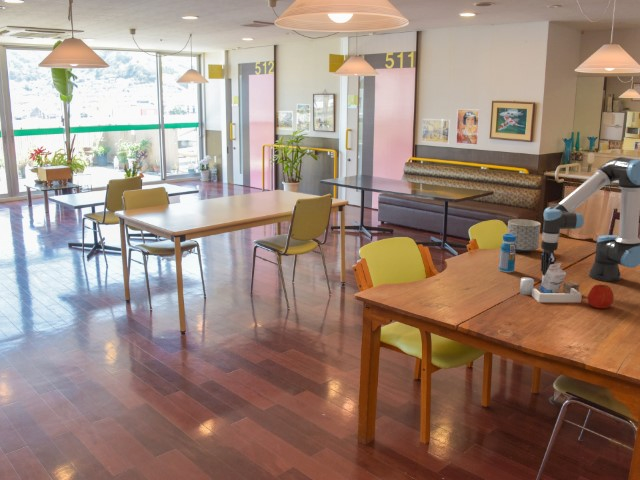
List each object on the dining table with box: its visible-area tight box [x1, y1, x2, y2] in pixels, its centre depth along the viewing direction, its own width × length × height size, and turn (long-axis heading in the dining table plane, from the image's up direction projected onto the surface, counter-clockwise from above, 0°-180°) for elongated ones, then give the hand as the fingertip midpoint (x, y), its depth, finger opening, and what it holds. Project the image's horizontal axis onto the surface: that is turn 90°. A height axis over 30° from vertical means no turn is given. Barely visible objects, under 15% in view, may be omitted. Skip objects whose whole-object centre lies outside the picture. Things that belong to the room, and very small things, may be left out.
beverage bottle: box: [498, 233, 517, 273], centre depth 331 cm, size 8×8×20 cm
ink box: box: [538, 262, 567, 293], centre depth 294 cm, size 8×5×15 cm, turn 119°
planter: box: [506, 218, 542, 254], centre depth 374 cm, size 19×19×18 cm
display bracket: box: [531, 287, 583, 303], centre depth 288 cm, size 20×9×4 cm, turn 92°
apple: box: [587, 283, 615, 309], centre depth 278 cm, size 11×11×11 cm
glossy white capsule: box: [519, 276, 535, 296], centre depth 296 cm, size 6×6×7 cm
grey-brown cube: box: [562, 281, 580, 293], centre depth 297 cm, size 5×5×5 cm
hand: (544, 287), depth 301 cm, fingers closed
